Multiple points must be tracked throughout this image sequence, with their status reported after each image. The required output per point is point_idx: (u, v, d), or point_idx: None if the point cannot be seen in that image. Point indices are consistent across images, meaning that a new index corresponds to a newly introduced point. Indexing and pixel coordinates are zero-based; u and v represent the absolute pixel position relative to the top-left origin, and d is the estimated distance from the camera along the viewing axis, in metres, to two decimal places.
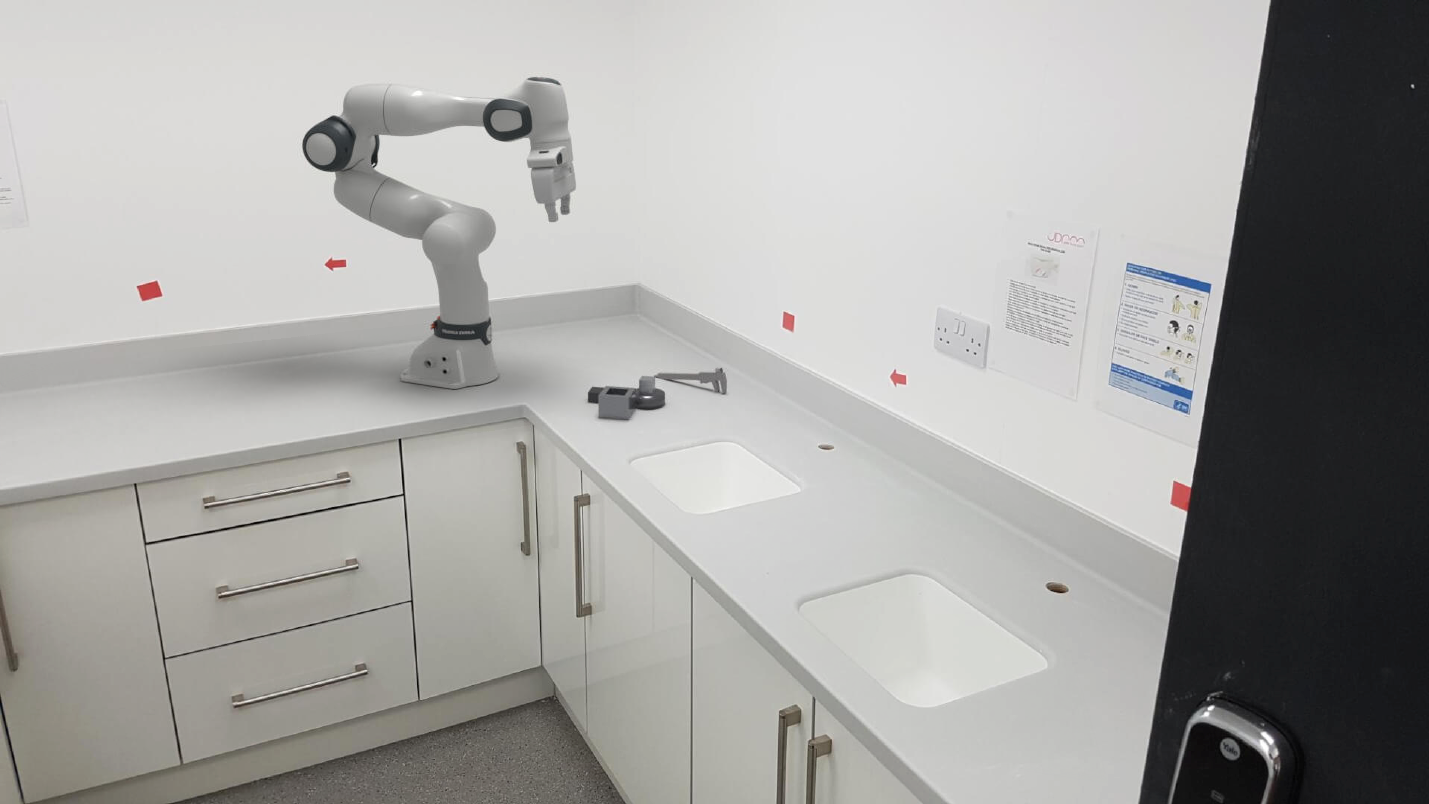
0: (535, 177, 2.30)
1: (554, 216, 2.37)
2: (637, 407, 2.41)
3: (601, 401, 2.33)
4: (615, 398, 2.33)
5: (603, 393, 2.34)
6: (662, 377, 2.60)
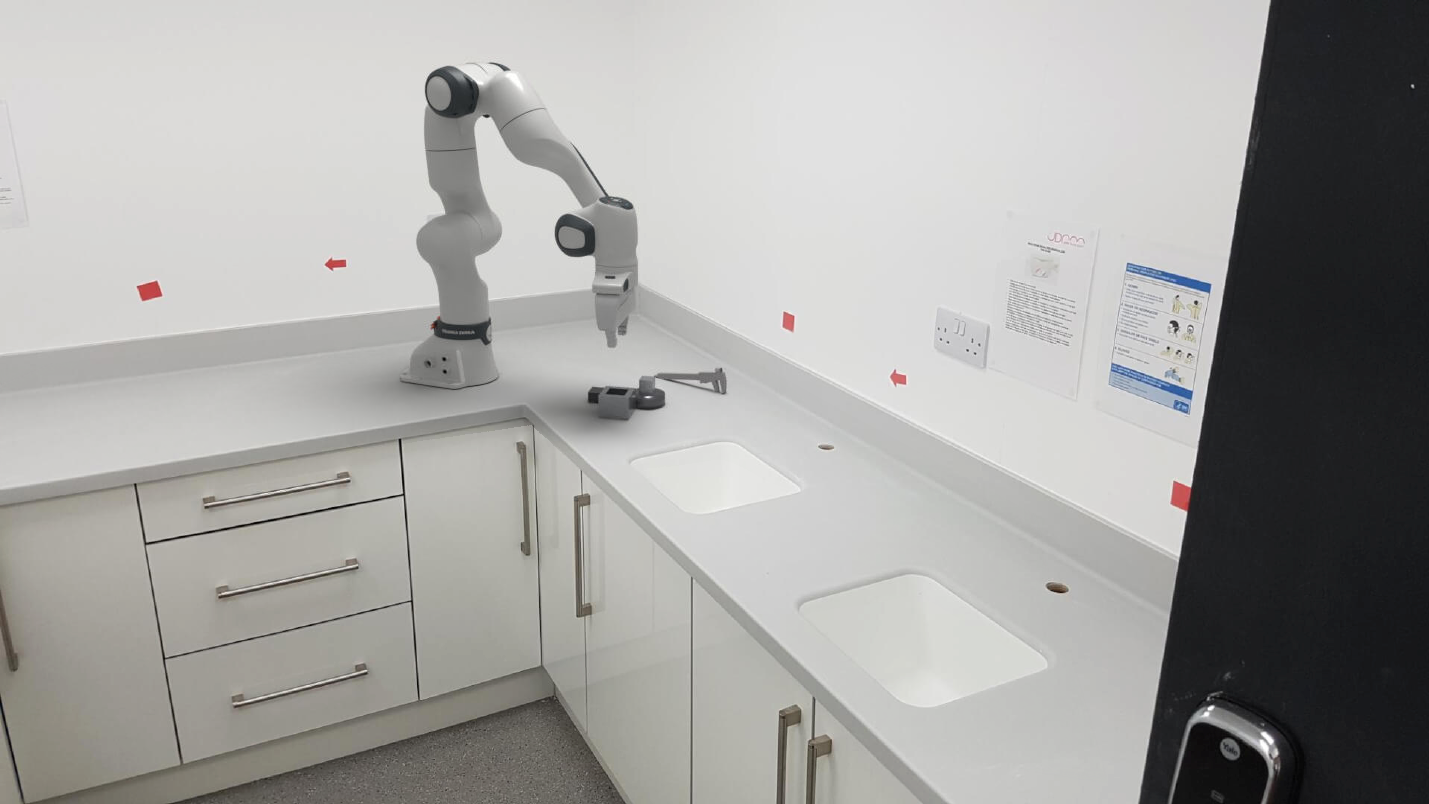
0: (599, 304, 2.20)
1: (613, 342, 2.26)
2: (637, 407, 2.41)
3: (601, 401, 2.33)
4: (615, 398, 2.33)
5: (603, 393, 2.34)
6: (662, 377, 2.61)
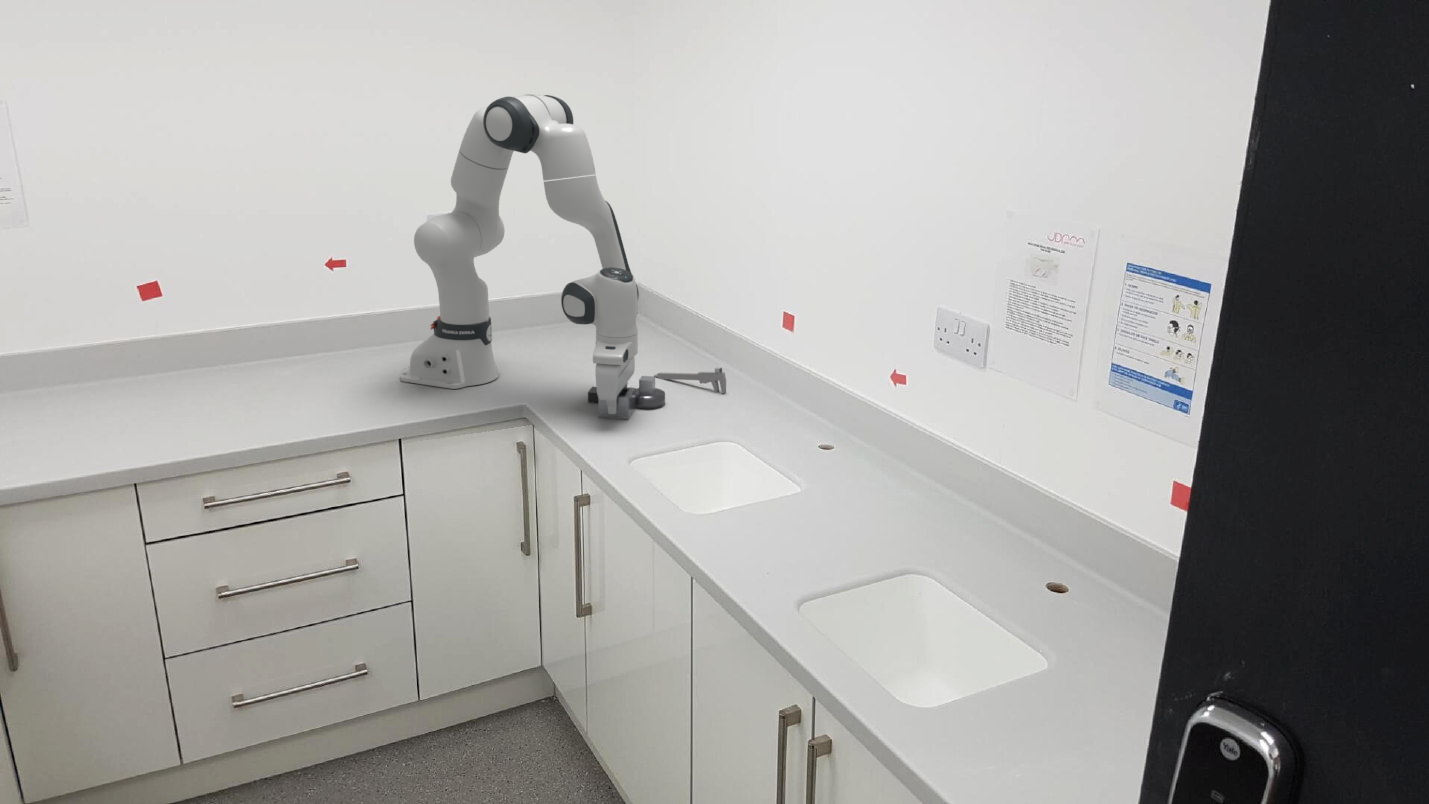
0: (600, 374, 2.25)
1: (614, 408, 2.32)
2: (637, 407, 2.41)
3: (601, 401, 2.33)
4: None
5: None
6: (662, 377, 2.61)
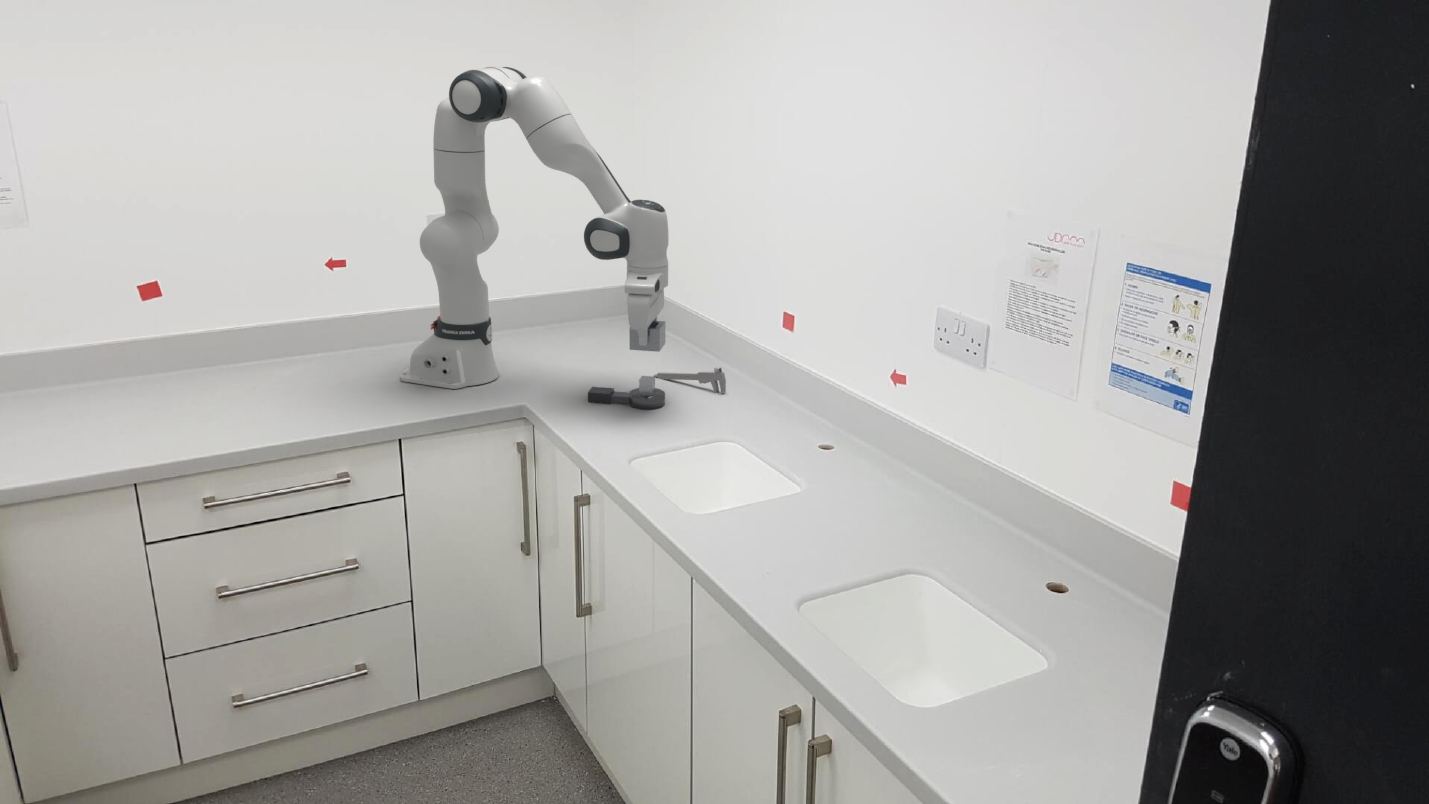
0: (632, 304, 2.27)
1: (645, 340, 2.34)
2: (637, 407, 2.41)
3: (632, 333, 2.35)
4: None
5: None
6: (661, 377, 2.61)
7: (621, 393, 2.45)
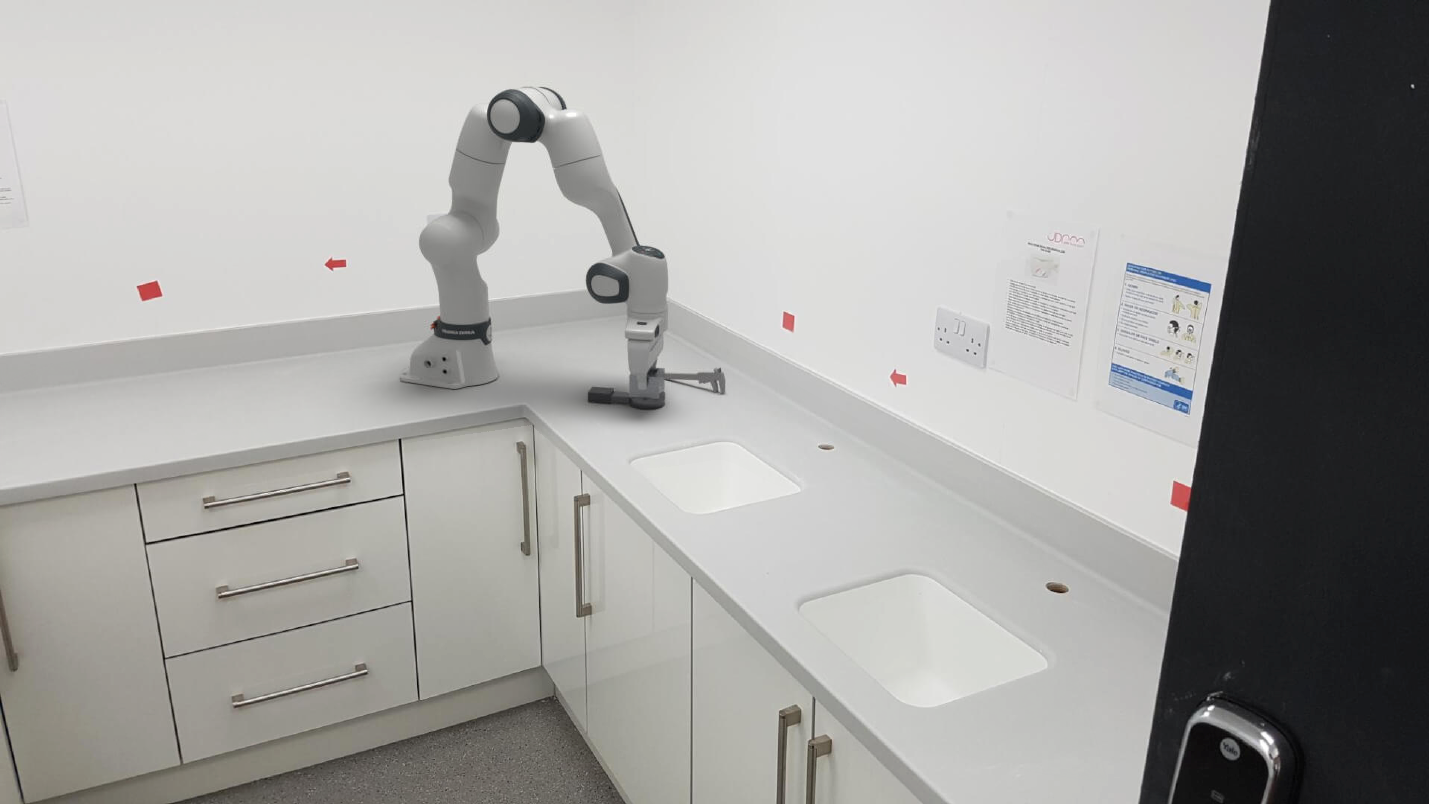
0: (632, 349, 2.30)
1: (644, 384, 2.37)
2: (637, 407, 2.41)
3: (632, 381, 2.39)
4: None
5: None
6: None
7: (621, 393, 2.45)
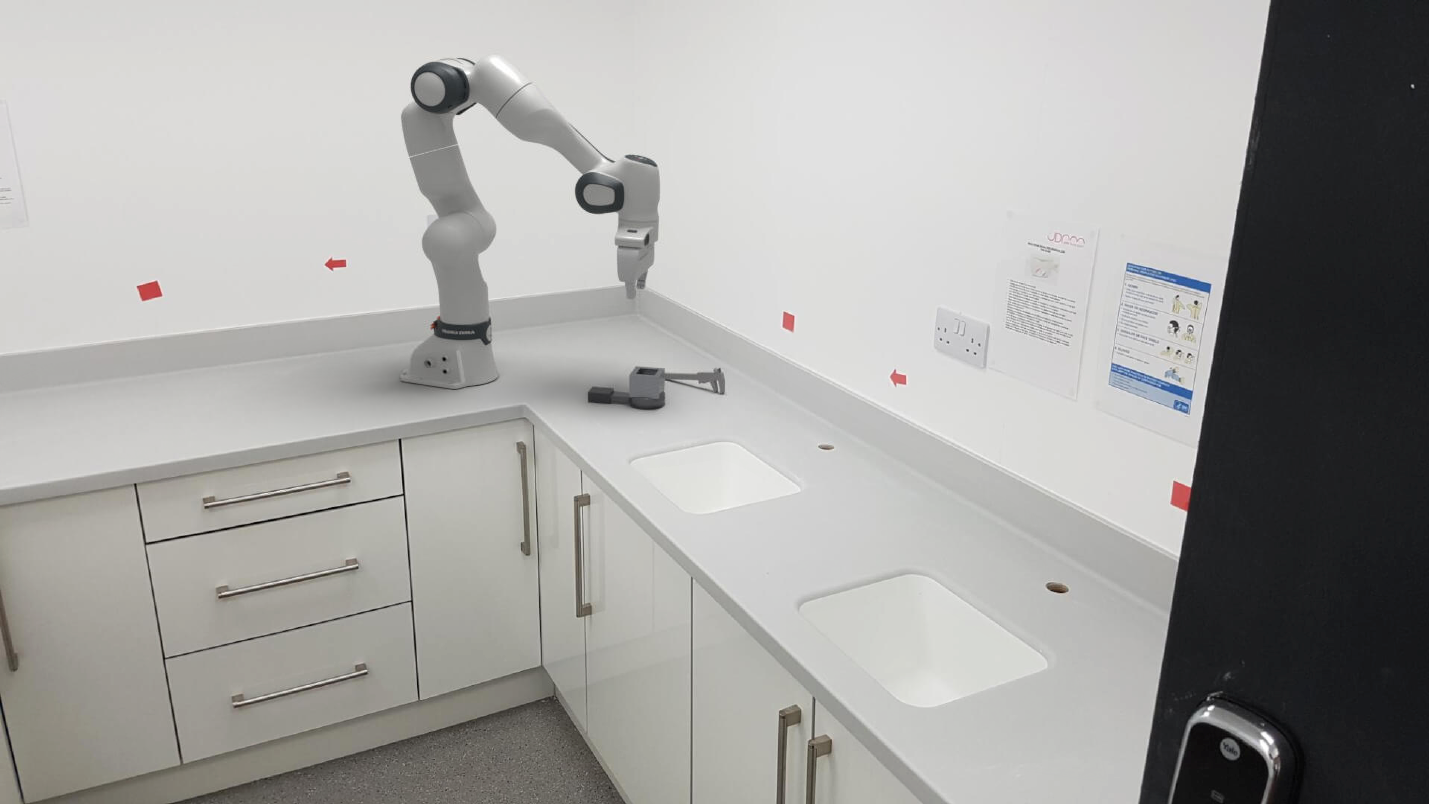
0: (621, 256, 2.31)
1: (632, 293, 2.38)
2: (637, 407, 2.41)
3: (632, 381, 2.39)
4: (646, 378, 2.38)
5: (633, 373, 2.40)
6: None
7: (621, 393, 2.45)
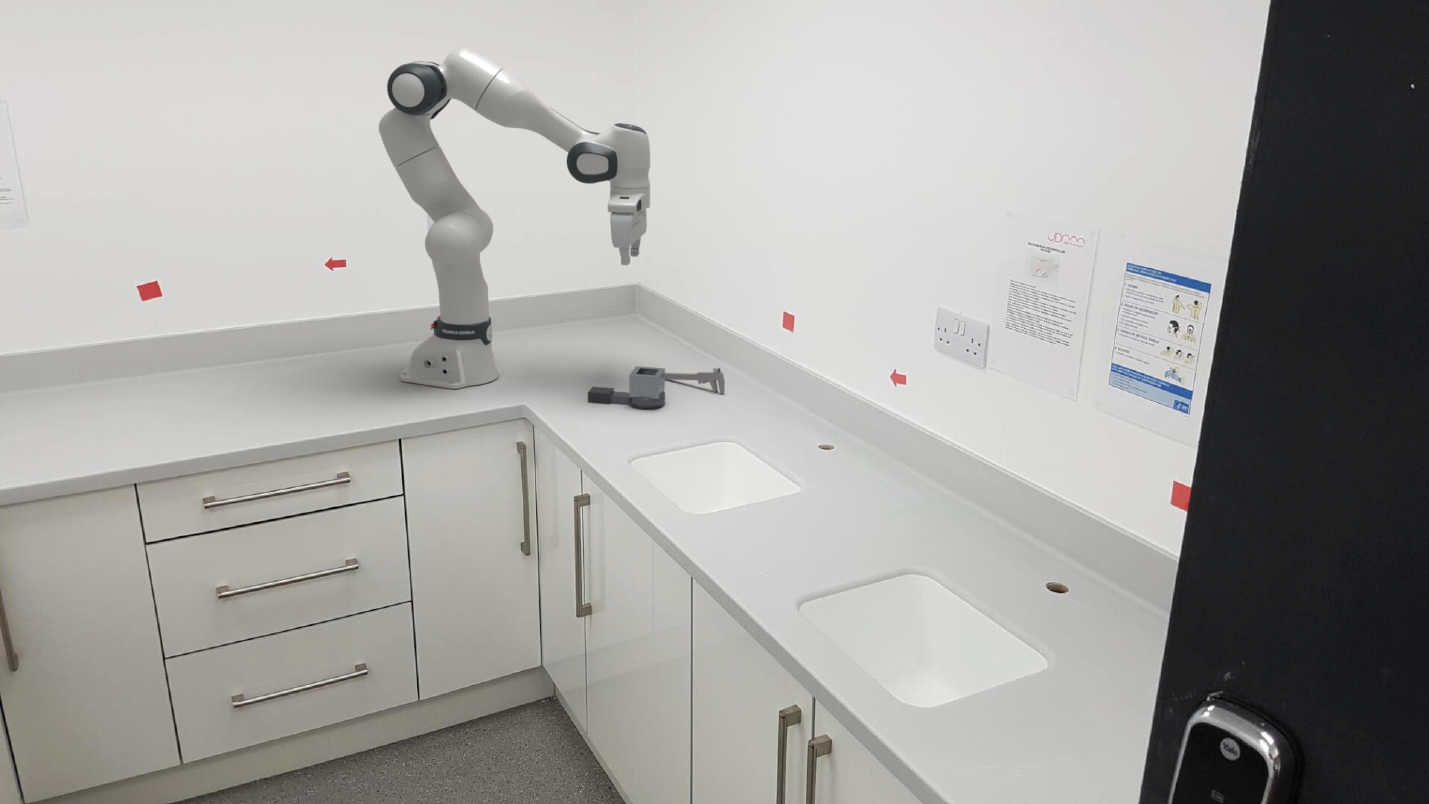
0: (614, 222, 2.36)
1: (627, 260, 2.43)
2: (637, 407, 2.41)
3: (632, 381, 2.39)
4: (646, 378, 2.38)
5: (633, 373, 2.40)
6: None
7: (621, 393, 2.45)
